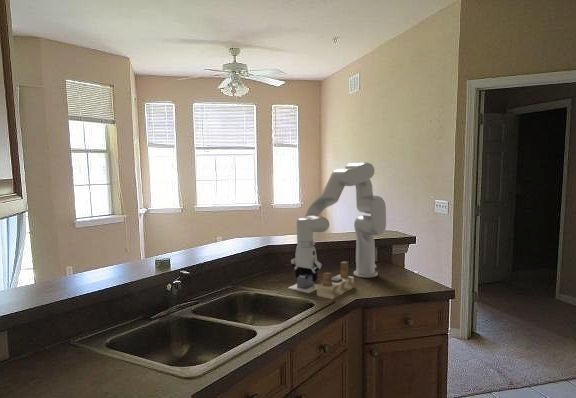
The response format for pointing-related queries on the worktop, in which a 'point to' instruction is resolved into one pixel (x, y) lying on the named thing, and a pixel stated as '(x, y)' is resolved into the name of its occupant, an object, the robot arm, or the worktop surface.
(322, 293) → the cream pegged block
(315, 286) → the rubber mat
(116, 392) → the worktop surface
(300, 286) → the lever cap
